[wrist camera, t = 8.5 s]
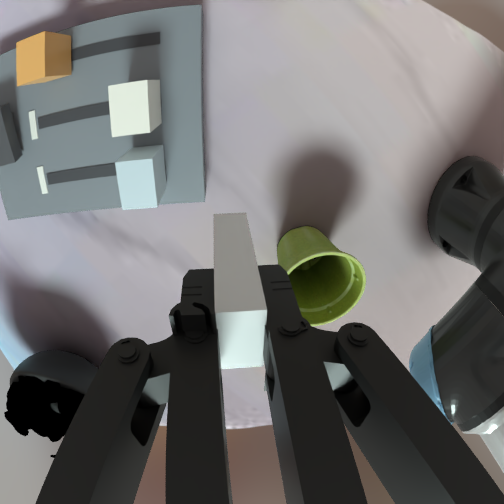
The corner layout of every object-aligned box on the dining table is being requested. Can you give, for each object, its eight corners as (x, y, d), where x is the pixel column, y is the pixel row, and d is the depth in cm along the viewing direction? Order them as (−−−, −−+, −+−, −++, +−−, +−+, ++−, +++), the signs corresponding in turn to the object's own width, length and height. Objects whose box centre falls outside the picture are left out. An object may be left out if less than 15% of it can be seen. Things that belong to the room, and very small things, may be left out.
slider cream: (159, 79, 22) (147, 79, 18) (161, 123, 24) (150, 132, 20) (126, 84, 22) (108, 85, 18) (129, 126, 24) (112, 137, 20)
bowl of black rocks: (134, 400, 52) (125, 486, 36) (46, 383, 48) (24, 459, 32) (121, 334, 42) (98, 448, 26) (14, 314, 38) (-29, 405, 22)
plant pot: (289, 198, 33) (310, 237, 26) (352, 231, 36) (383, 272, 29) (249, 263, 37) (258, 312, 30) (311, 287, 40) (330, 334, 33)
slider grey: (163, 144, 25) (152, 158, 21) (166, 185, 27) (157, 207, 23) (131, 147, 25) (115, 162, 21) (136, 188, 27) (122, 209, 23)
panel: (202, 11, 22) (200, 2, 18) (205, 190, 32) (204, 204, 29) (-1, 62, 19) (-20, 63, 16) (20, 209, 29) (5, 222, 26)
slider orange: (71, 35, 18) (45, 30, 14) (71, 74, 20) (45, 76, 16) (44, 44, 18) (16, 42, 14) (45, 82, 20) (17, 86, 16)
